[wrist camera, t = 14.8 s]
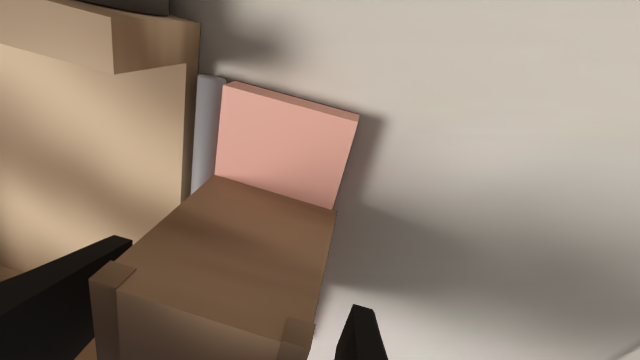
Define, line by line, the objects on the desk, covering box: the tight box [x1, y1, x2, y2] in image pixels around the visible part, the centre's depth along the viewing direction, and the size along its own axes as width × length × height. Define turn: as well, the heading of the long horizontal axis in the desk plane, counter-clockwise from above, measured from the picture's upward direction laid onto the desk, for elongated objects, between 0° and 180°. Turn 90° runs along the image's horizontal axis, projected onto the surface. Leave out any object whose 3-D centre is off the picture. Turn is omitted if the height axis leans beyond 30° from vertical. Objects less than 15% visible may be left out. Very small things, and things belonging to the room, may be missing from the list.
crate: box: [88, 175, 337, 360], centre depth 10 cm, size 5×5×6 cm
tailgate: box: [191, 74, 360, 210], centre depth 13 cm, size 11×1×5 cm
